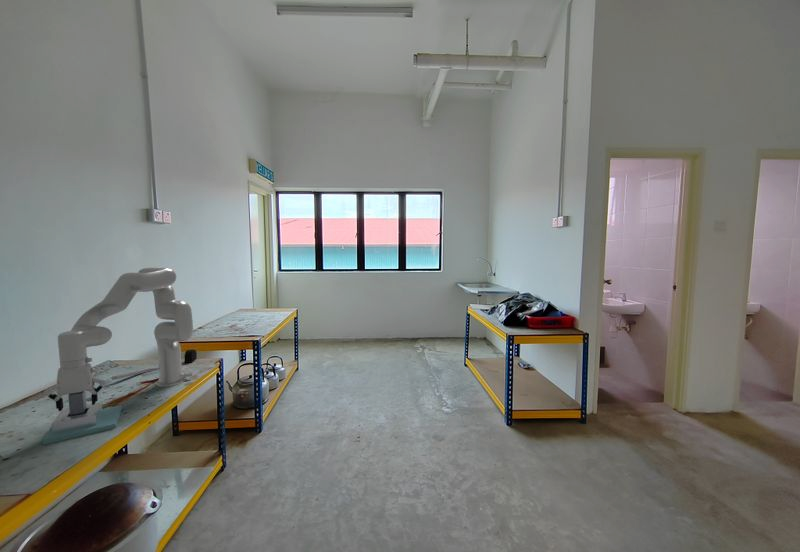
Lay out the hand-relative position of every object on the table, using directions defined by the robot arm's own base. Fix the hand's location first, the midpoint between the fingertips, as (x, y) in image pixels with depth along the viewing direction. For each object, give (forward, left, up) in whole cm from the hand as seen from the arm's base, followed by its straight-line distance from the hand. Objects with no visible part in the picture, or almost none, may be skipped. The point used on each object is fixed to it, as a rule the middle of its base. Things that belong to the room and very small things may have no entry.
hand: (77, 406), depth 131 cm
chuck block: (-2, 0, -8) cm, 9 cm away
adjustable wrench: (-4, -43, -8) cm, 44 cm away
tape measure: (-39, -64, -9) cm, 76 cm away
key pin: (0, 0, -6) cm, 6 cm away
